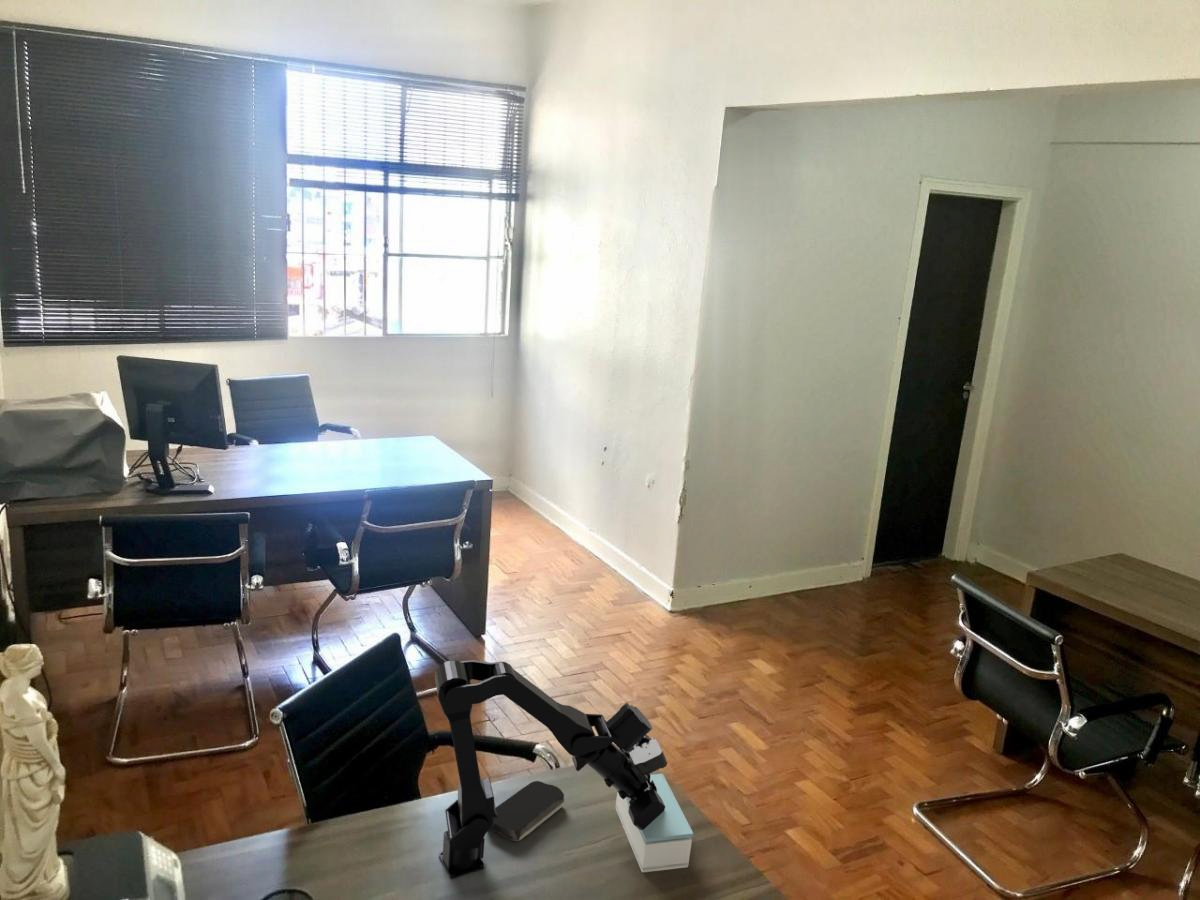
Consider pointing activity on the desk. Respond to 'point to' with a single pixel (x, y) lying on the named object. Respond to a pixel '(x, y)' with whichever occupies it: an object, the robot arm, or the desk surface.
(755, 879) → the desk surface
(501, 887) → the desk surface
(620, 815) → the white lidded box
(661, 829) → the cover
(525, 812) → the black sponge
